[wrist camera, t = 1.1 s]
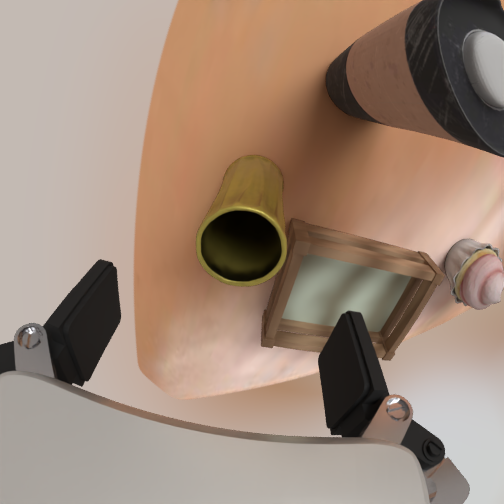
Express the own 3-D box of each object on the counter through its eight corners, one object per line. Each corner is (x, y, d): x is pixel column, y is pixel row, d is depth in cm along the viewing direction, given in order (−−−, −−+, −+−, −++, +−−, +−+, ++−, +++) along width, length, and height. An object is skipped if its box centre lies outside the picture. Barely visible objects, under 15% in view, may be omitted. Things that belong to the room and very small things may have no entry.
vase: (212, 189, 29) (169, 258, 16) (246, 142, 26) (226, 174, 14) (259, 222, 30) (252, 309, 18) (295, 178, 28) (318, 241, 15)
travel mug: (335, 127, 25) (459, 175, 7) (312, 57, 22) (398, -32, 4) (401, 114, 23) (556, 154, 6) (381, 47, 20) (523, 1, 2)
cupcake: (455, 294, 34) (486, 339, 25) (424, 269, 32) (458, 318, 23) (491, 248, 30) (530, 285, 21) (464, 214, 28) (511, 252, 19)
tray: (426, 253, 31) (445, 275, 26) (380, 334, 38) (390, 360, 33) (291, 218, 30) (296, 239, 25) (262, 317, 37) (260, 346, 32)
